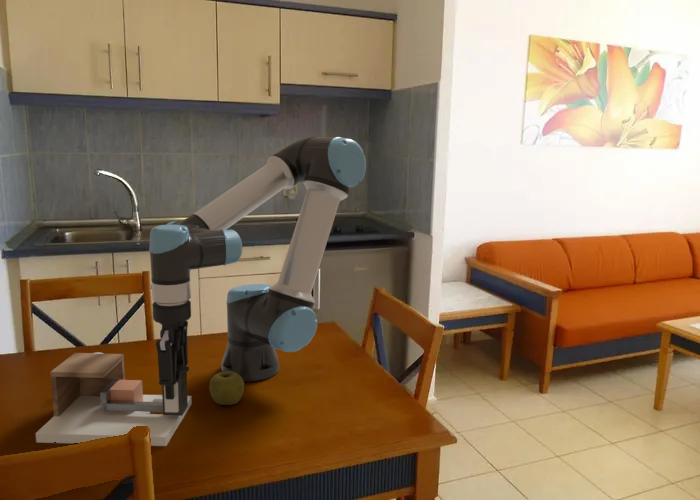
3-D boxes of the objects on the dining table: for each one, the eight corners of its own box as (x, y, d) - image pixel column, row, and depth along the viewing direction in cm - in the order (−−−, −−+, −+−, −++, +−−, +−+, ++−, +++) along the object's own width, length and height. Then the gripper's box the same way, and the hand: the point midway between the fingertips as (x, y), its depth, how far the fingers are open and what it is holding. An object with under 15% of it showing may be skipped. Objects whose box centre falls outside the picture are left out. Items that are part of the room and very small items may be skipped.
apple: (214, 395, 134) (213, 367, 132) (247, 396, 133) (247, 368, 132) (205, 410, 126) (204, 380, 125) (240, 411, 126) (240, 382, 125)
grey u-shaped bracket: (192, 399, 124) (191, 357, 122) (182, 415, 117) (180, 371, 115) (113, 396, 124) (111, 354, 122) (98, 413, 117) (95, 368, 115)
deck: (191, 404, 129) (191, 396, 128) (166, 446, 111) (165, 437, 111) (79, 400, 129) (79, 392, 128) (36, 442, 111) (35, 433, 111)
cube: (143, 401, 125) (142, 380, 124) (134, 411, 120) (133, 390, 119) (120, 400, 125) (119, 379, 124) (111, 411, 120) (110, 389, 119)
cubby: (125, 395, 128) (123, 354, 126) (105, 417, 118) (103, 373, 116) (78, 393, 128) (75, 352, 126) (54, 416, 118) (50, 371, 116)
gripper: (167, 289, 122) (170, 387, 127) (137, 313, 106) (143, 425, 110) (201, 290, 122) (203, 388, 127) (176, 314, 106) (180, 427, 110)
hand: (175, 405), depth 119 cm, fingers closed on grey u-shaped bracket, 4 cm apart
